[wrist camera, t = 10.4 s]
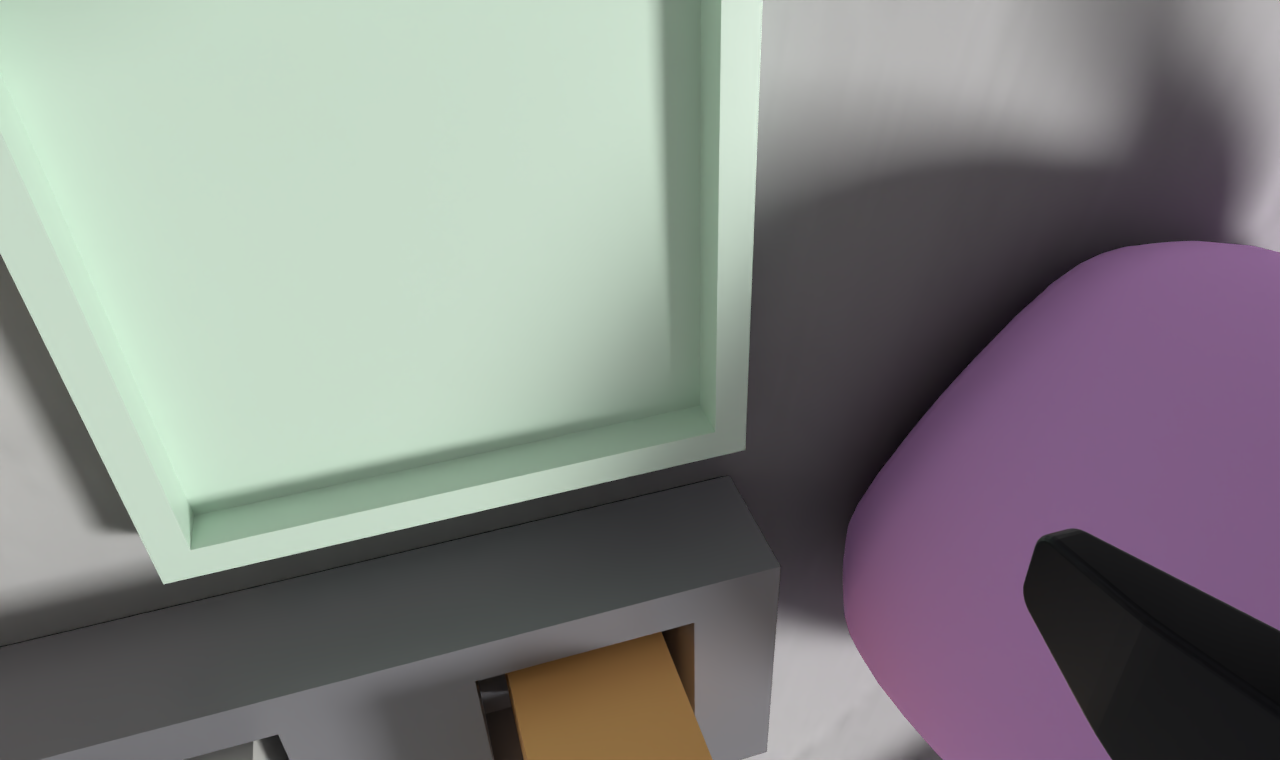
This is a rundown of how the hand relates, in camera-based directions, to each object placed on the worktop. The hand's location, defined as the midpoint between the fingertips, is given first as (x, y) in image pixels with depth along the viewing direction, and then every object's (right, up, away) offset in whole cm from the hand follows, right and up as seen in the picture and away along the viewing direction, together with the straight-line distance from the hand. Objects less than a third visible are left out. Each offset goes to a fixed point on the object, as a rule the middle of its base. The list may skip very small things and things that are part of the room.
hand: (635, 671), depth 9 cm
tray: (-5, +6, +10) cm, 13 cm away
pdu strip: (-7, -5, +17) cm, 19 cm away
